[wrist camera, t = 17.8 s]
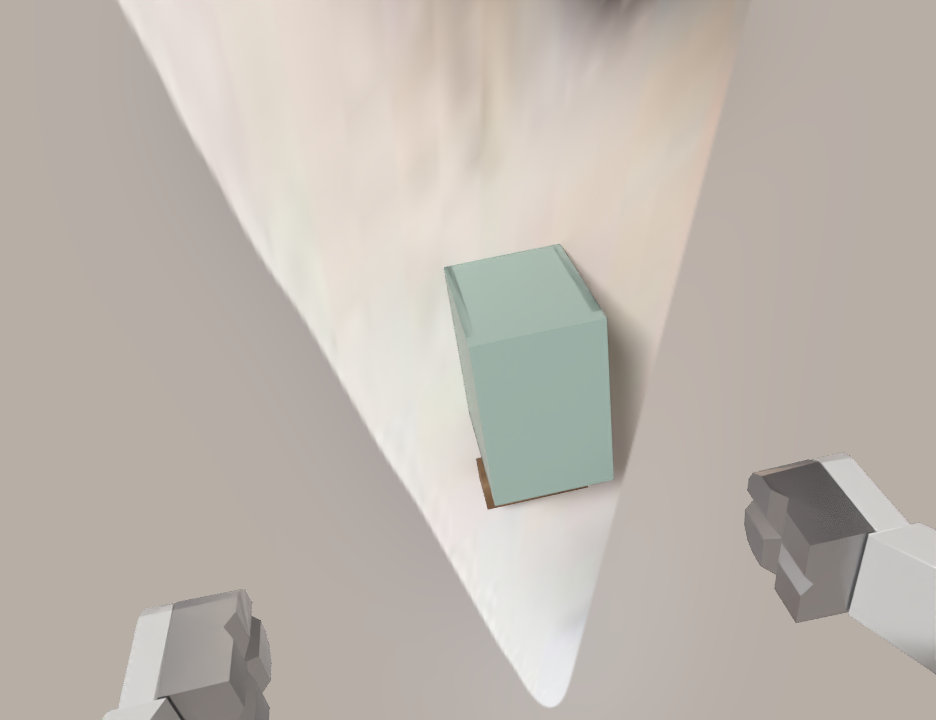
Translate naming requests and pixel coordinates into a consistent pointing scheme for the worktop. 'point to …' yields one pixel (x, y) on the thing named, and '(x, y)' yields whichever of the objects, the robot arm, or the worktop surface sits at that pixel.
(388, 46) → the worktop surface
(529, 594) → the worktop surface
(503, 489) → the sage green upright block
